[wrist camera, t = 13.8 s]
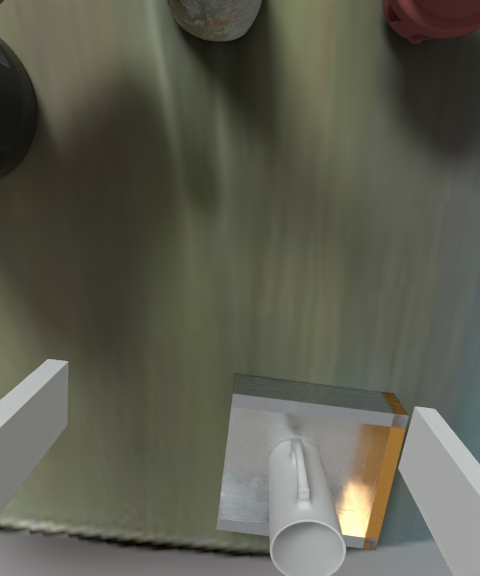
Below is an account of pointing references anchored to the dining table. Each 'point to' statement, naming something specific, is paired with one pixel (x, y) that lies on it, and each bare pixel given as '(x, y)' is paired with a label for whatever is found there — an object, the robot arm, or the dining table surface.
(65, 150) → the dining table surface
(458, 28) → the mechanical component
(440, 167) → the dining table surface
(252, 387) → the channel
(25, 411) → the robot arm
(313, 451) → the mug
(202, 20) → the bottle
